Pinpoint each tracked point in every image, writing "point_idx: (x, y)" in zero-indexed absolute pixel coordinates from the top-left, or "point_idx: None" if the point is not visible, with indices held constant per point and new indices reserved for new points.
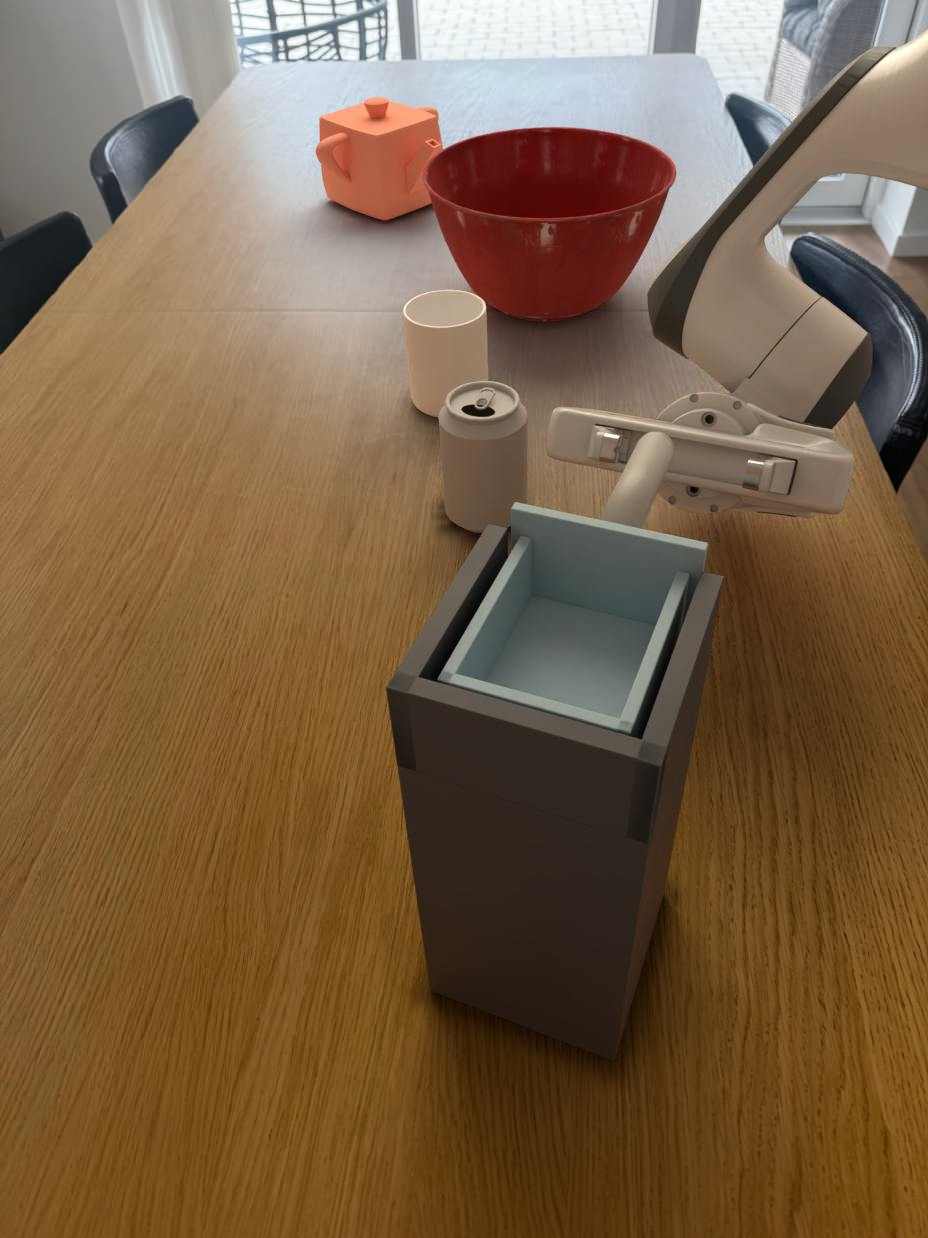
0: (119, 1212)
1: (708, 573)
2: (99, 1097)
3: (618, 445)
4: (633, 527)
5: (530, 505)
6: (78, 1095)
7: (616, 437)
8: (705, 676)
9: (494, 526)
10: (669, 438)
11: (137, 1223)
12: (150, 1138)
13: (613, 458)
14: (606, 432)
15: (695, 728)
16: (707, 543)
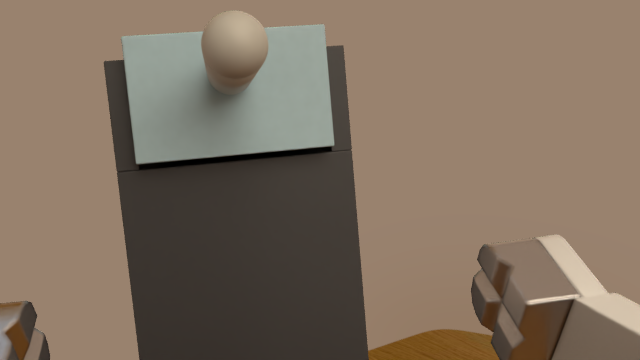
0: (404, 341)
1: (119, 60)
2: (463, 350)
3: (488, 276)
4: (199, 32)
5: (307, 25)
6: (473, 347)
7: (492, 243)
8: (120, 199)
9: (335, 46)
10: (211, 20)
11: (393, 343)
12: (422, 353)
13: (473, 288)
14: (564, 267)
15: (130, 280)
16: (122, 37)
